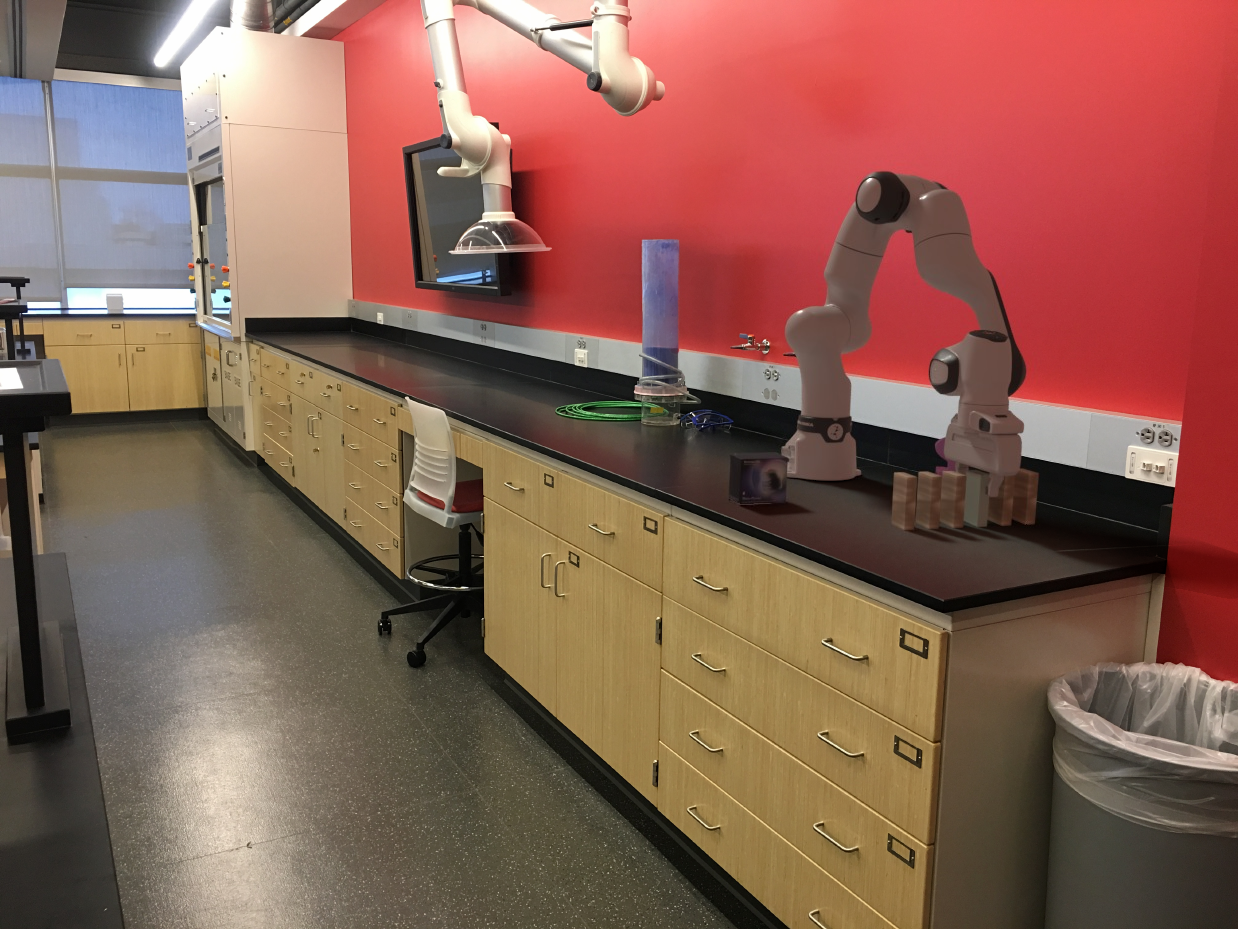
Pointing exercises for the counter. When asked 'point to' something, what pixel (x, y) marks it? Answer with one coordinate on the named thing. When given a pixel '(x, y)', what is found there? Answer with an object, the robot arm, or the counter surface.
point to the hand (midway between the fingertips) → (977, 491)
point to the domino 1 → (904, 501)
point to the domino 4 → (976, 498)
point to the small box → (758, 477)
